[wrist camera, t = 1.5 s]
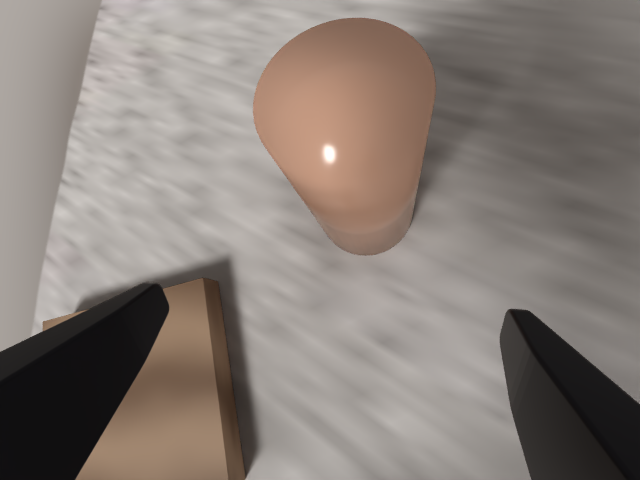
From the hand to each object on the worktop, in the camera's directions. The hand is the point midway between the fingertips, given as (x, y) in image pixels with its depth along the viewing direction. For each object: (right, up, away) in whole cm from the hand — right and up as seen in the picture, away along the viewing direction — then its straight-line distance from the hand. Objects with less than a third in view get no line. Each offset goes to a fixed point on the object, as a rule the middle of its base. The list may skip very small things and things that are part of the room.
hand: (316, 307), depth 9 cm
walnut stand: (-11, -8, +14) cm, 20 cm away
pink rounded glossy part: (+3, +4, +14) cm, 15 cm away
